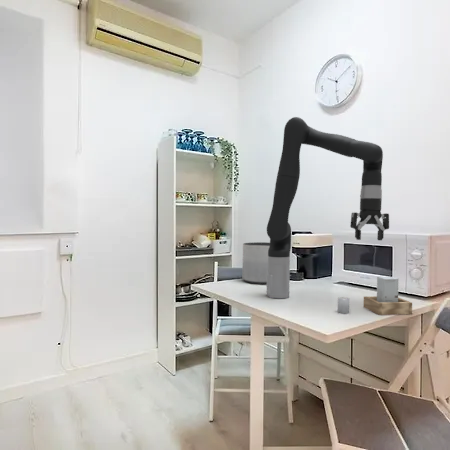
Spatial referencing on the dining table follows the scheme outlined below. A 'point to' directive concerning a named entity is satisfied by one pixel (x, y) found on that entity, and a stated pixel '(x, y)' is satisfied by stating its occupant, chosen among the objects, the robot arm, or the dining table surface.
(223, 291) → the dining table surface
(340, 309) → the grey stub
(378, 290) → the skincare box
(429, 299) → the dining table surface
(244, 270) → the planter
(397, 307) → the oak collar
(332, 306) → the dining table surface
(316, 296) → the dining table surface
